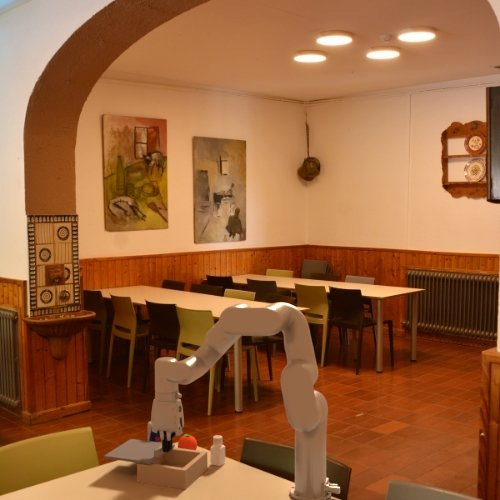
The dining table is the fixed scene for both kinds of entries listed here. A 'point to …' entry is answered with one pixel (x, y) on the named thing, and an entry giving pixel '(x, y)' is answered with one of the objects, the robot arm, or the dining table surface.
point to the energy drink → (153, 434)
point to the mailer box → (174, 468)
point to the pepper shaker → (217, 451)
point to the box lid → (138, 451)
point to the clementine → (187, 442)
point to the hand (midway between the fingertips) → (167, 450)
